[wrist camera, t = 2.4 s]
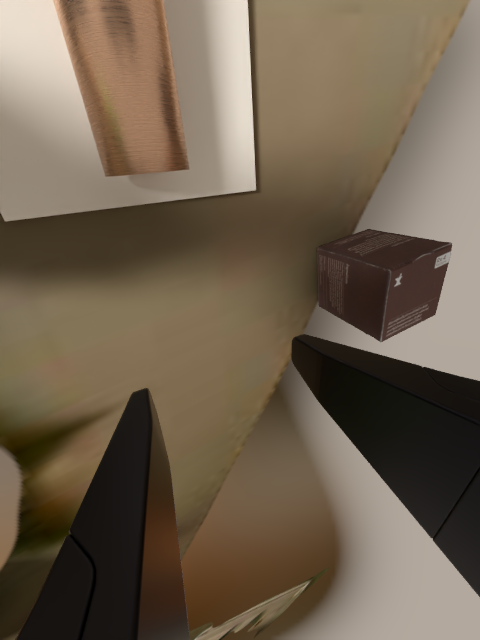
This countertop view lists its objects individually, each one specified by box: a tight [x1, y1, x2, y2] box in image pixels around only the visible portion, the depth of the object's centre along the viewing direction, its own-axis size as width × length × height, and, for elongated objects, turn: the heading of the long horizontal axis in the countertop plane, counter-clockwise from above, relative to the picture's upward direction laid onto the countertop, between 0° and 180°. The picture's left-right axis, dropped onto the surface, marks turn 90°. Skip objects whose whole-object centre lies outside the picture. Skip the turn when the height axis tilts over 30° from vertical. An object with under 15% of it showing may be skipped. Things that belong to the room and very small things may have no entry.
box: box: [317, 229, 452, 342], centre depth 22 cm, size 6×6×7 cm
